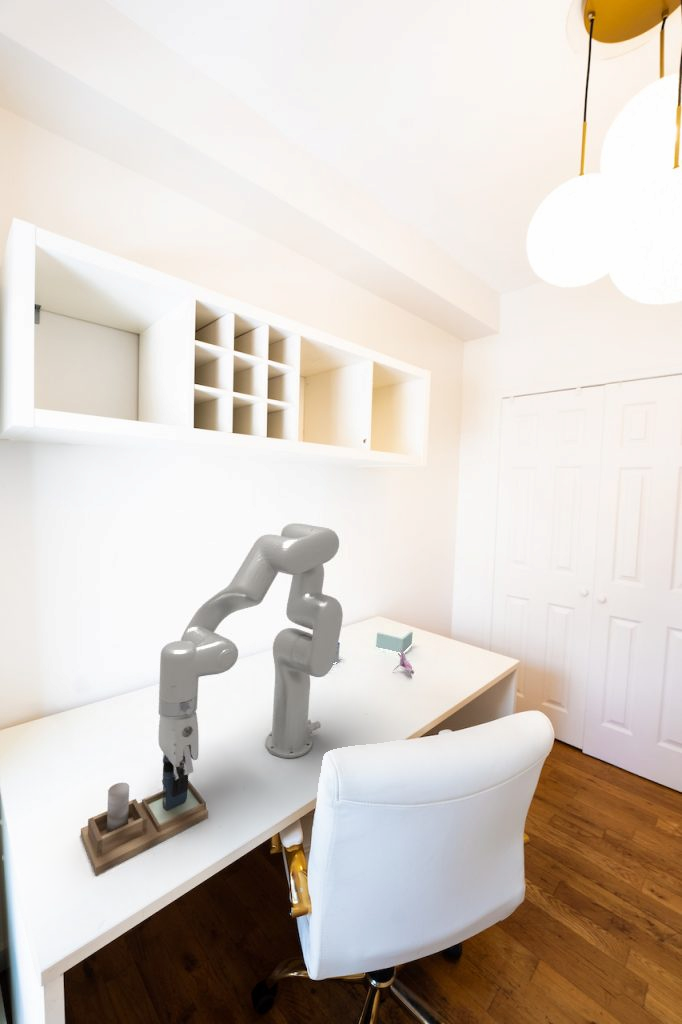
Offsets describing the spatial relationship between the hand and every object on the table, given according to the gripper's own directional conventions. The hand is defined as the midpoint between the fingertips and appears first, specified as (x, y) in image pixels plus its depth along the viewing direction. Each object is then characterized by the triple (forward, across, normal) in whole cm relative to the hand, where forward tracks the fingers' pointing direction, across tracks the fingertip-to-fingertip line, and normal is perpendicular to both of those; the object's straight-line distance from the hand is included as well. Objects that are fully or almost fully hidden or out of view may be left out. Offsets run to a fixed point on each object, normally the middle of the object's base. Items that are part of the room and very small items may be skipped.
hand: (175, 786), depth 91 cm
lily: (+6, +14, -95) cm, 96 cm away
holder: (+6, 0, +6) cm, 8 cm away
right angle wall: (+6, +33, -111) cm, 116 cm away
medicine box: (+6, +40, -78) cm, 88 cm away
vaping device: (+5, +1, 0) cm, 5 cm away
